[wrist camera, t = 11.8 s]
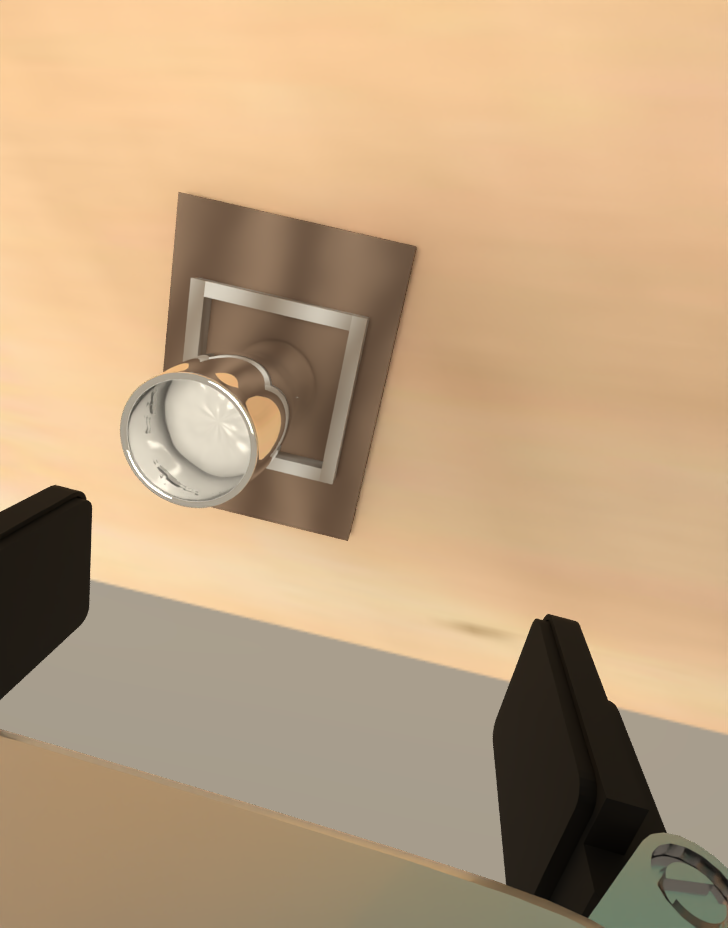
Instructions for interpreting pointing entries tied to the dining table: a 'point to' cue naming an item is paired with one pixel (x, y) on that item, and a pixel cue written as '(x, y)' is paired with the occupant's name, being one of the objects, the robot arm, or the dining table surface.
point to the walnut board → (294, 340)
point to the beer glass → (215, 421)
